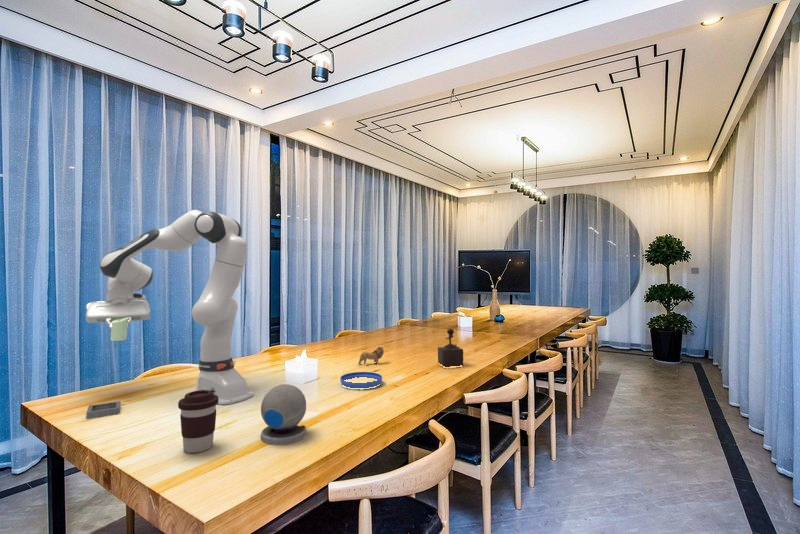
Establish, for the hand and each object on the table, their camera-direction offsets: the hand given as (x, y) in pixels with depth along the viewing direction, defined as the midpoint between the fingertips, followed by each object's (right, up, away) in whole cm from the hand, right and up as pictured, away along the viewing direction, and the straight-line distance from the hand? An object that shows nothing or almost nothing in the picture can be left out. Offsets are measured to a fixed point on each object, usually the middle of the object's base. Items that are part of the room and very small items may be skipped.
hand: (118, 328), depth 149 cm
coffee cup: (+50, -27, -39) cm, 69 cm away
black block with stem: (+131, -28, +59) cm, 147 cm away
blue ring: (+89, -28, +23) cm, 96 cm away
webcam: (+71, -27, -31) cm, 82 cm away
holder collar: (+3, -27, -12) cm, 30 cm away
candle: (0, -4, 0) cm, 4 cm away
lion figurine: (+91, -28, +60) cm, 112 cm away
